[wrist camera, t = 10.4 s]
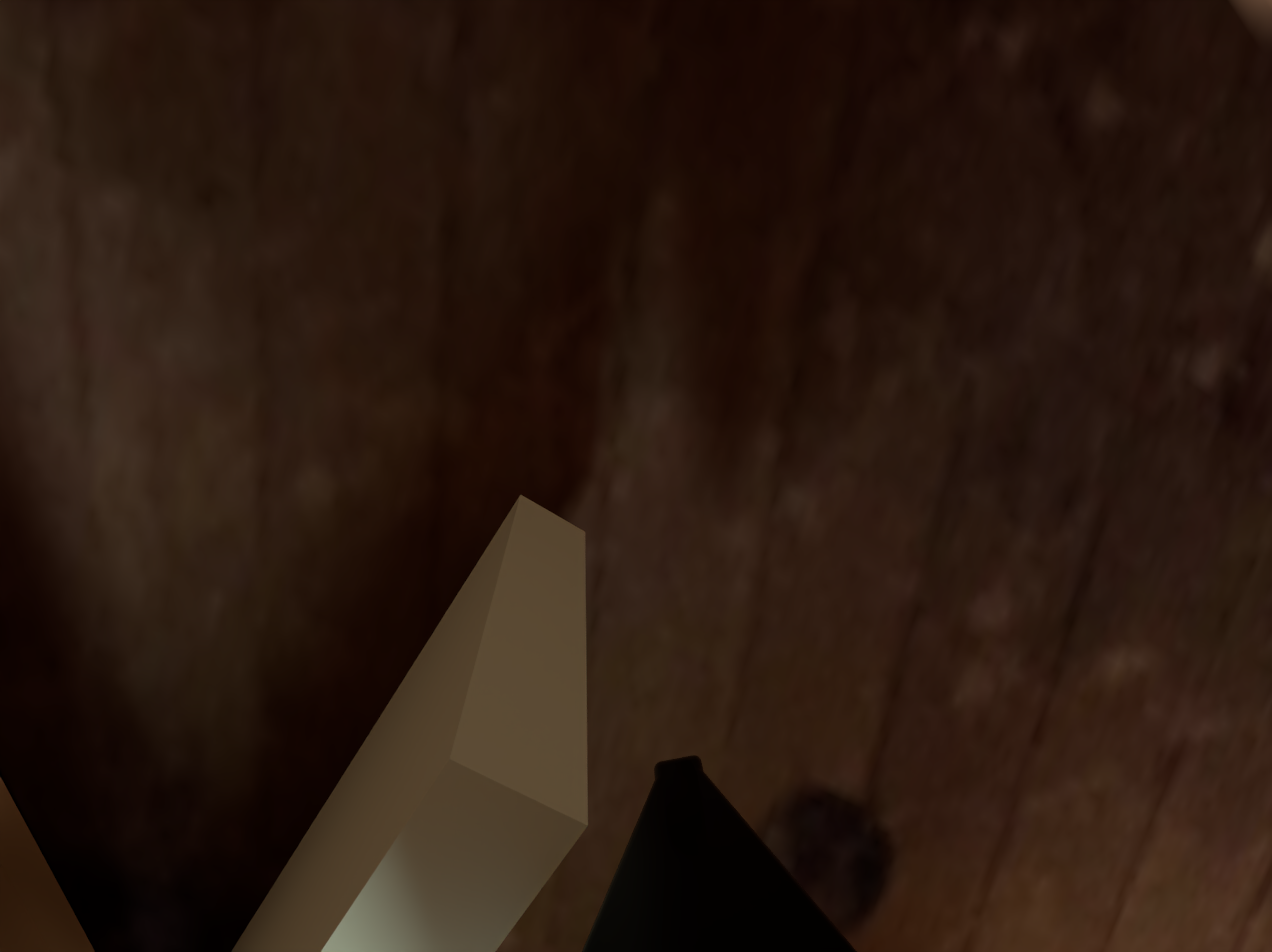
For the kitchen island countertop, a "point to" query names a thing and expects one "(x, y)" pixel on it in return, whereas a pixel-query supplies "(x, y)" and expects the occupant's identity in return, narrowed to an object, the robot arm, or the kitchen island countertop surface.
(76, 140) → the kitchen island countertop surface
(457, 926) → the door
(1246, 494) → the kitchen island countertop surface
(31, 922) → the cabinet
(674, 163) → the kitchen island countertop surface
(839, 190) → the kitchen island countertop surface
